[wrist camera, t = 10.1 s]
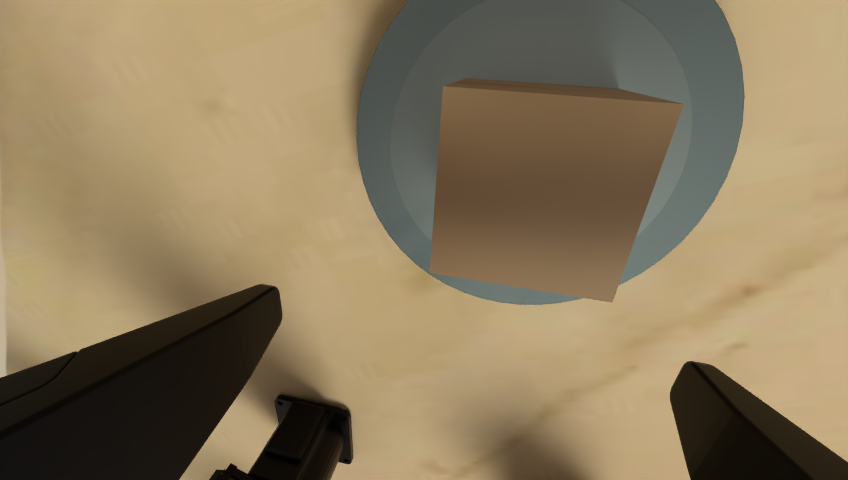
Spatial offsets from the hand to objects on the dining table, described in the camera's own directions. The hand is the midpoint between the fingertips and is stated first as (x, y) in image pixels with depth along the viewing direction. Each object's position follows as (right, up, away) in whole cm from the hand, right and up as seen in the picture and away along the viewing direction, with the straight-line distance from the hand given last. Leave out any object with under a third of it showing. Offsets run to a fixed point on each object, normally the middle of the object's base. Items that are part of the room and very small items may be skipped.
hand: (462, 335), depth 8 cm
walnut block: (+4, +6, +8) cm, 10 cm away
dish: (+4, +6, +9) cm, 12 cm away
